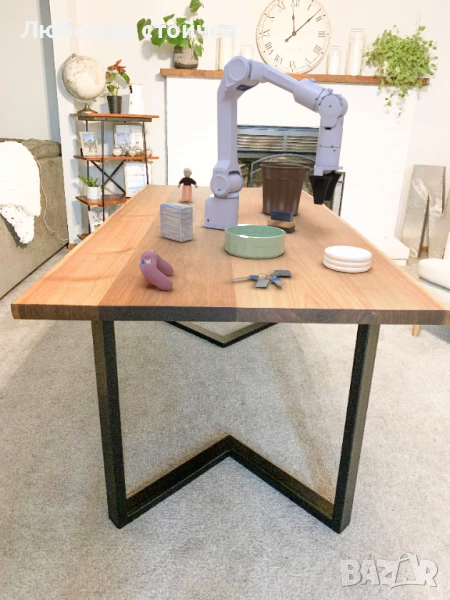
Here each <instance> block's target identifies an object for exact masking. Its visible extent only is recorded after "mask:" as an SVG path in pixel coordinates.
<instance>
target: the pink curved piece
mask: <svg viewBox="0 0 450 600" xmlns="http://www.w3.org/2000/svg"><path fill="white" fill-rule="evenodd" d="M138 267H139V270H140V272H141V274H142V276H143V278H144V279H145V280H146V281H147V282H148V283H149V284H150V285H151V286H154V287H157V288H158V289H159V290H162V291H171V289H173V281H172V280H171V279H170V276H172V275H173V274H174V272H175V271H174V267H173V266H172V265H171V264H170V263H169V262H168V261H167V260H165V259H163V258H162V257H161V256H160V254H158V252H155V251H154V249H152V250H147V251H145V252H142V253H141V254H140V263H139V264H138Z"/></svg>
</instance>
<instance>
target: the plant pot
mask: <svg viewBox="0 0 450 600" xmlns="http://www.w3.org/2000/svg"><path fill="white" fill-rule="evenodd" d="M259 167H260V170H261V171H260V176H261V180H262V181H261V183H262V184H261V185H262V187H261V188H262V212H263V214H266V215H270V216H271V211H272V210H281V211H289V212H294V213H293V217H295V216H296V215H298V213H299V207H300V202H301V196H302V191H303V187H304V186H303V185H304V181H305V180H306V176H307V171H308V169H309V166H308V165H307V166H306V165H301V164H300V165H299V164H286V163H260V164H259Z"/></svg>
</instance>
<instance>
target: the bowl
mask: <svg viewBox="0 0 450 600" xmlns="http://www.w3.org/2000/svg"><path fill="white" fill-rule="evenodd" d="M286 235H287V233H286V232H285V231H284V230H282V229H280V228H277V227H272V226H267V224H266V225H265V224H254V223H253V224H252V223H251V224H247V223H246V224H242V225H234V226H230V227H227V228H226V229H225V230H224V241H223V242H224V243H223V248H224V250H225V251H226V252H227V253H228V254H229V255H232V256H235V257H237V258H241V259H242V258H243V259H250V260H267V259H274V258H278V257H280V256H281V255H282V254H284V253H285V245H286Z"/></svg>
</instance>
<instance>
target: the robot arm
mask: <svg viewBox="0 0 450 600" xmlns="http://www.w3.org/2000/svg"><path fill="white" fill-rule="evenodd" d="M267 83H269V84H272V85H273V86H275V87H278V88H279V89H282V90H284V91H285V92H288V93H290V94H292V97H293V100H294V102H295V103H297V104H299V105H300V106H302V107H305V108H306V109H308V110H310V111H311V112H314V113H316V114H319V116H320V119H319V121H320V122H319V127H318V135H317V146H316V154H315V164H314V165H313V168H314V170H313V174H312V173H311V174H308V180H309V183H310V185H311V190H312V199H313V200H312V201H313V204H314V205H318V206H322V205H324V203H325V201H326V202H331V200H332V199H333V195H334V193H335V190H336V187H337V184H338V182H339V181H340V179H341V178H342V173H341V172H338V170H339V171H340V170H343V169H344V166H342V165H339V164H340V154H341V150H342V149H341V147H342V141H343V139H342V138H343V132H344V121H345V116H346V114H347V112H348V110H349V104H348V101H347V99H346V98H345V97H344V96H343V95H342V93H341V94H340V93H333V92H334V89H333V88H331V87H328V88H326V87H325V86H323V85H320V84H319V83H317V79H315V78H313V77H310V78H303V79H301V80H297V79H296V78H294V77H292V76H290V75H289V74H288V73H285V72H283V71H281V70H279V69H278V68H276V67H275V66H272V65H270V64H267V63H264V62H261V61H258V60H255V59H252V58H247V57H245V56H242V55H235V56H233V57H231V59H229V61H228V62H226V64H225V65H224V66H223V75H222V78H221V80H220V82H219V85H218V88H217V91H216V106H217V107H216V126H217V129H216V130H217V162H216V163H215V164H214V167H213V168H212V176H211V179H210V181H209V182H210V183H209V187H210V190H211V192H212V193H213V194H210V195H208V196H207V197H206V199H205V202H204V220H203V221H204V223H203V225H202V227H204V228H209V229H210V228H211V229H217V230H223V231H225V229H226V228H227V227H230V226H234V225H243V224H241V223H239V208H240V192H241V191H242V189H243V187H244V184H245V183H244V178H243V175H242V172H241V171H242V170H241V165H240V164H239V162H238V100H239V98H241V97H242V96H243V95H244V94H245V93H246V92H247V91H249V90H251V89H253V88H255V87H257V86H258V85H259V84H267Z"/></svg>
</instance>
